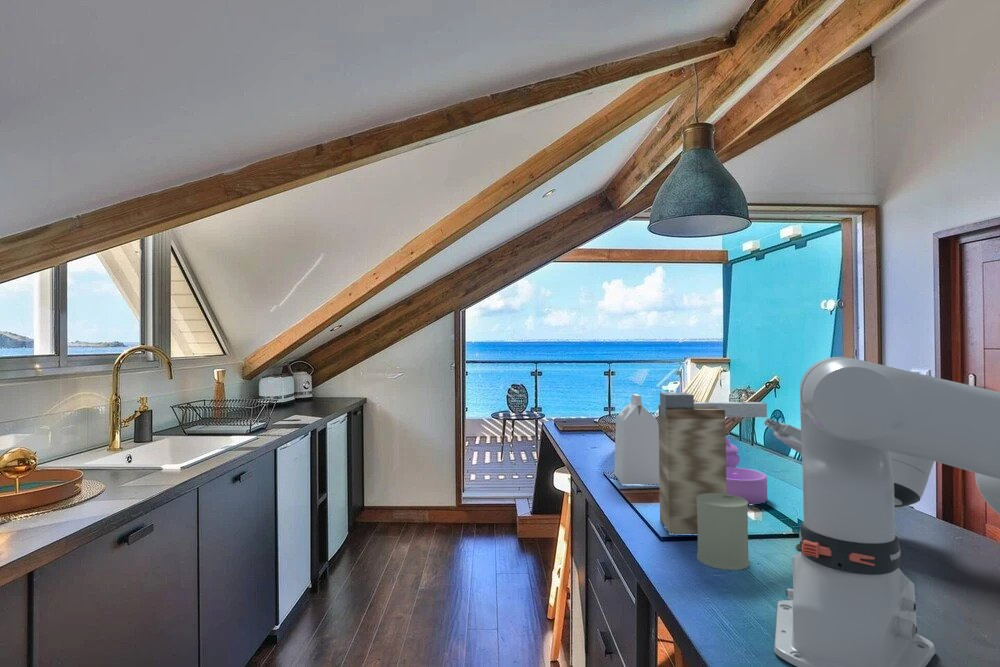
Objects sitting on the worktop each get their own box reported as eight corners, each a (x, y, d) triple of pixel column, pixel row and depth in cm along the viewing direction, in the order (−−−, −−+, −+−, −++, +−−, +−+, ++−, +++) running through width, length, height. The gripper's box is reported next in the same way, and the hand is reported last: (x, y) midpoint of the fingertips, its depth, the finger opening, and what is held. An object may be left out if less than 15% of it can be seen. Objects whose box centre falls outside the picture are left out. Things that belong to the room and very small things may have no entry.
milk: (662, 486, 154) (661, 396, 155) (622, 486, 155) (621, 396, 155) (651, 476, 166) (650, 393, 167) (614, 476, 167) (613, 393, 167)
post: (712, 521, 123) (710, 404, 124) (727, 536, 113) (725, 409, 114) (660, 520, 124) (658, 404, 125) (669, 535, 114) (667, 409, 115)
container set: (774, 507, 134) (773, 455, 134) (709, 503, 137) (709, 452, 138) (751, 482, 158) (751, 438, 158) (697, 479, 162) (696, 436, 162)
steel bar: (758, 414, 121) (758, 392, 121) (769, 418, 115) (769, 395, 115) (660, 414, 123) (659, 392, 123) (665, 417, 117) (665, 394, 117)
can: (756, 559, 101) (755, 496, 101) (739, 575, 94) (738, 507, 95) (708, 547, 107) (707, 487, 108) (688, 561, 101) (688, 497, 101)
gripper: (851, 480, 107) (789, 444, 108) (803, 458, 127) (750, 429, 128) (867, 453, 107) (804, 418, 108) (816, 435, 127) (763, 406, 128)
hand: (775, 424), depth 118 cm, fingers open, 8 cm apart
